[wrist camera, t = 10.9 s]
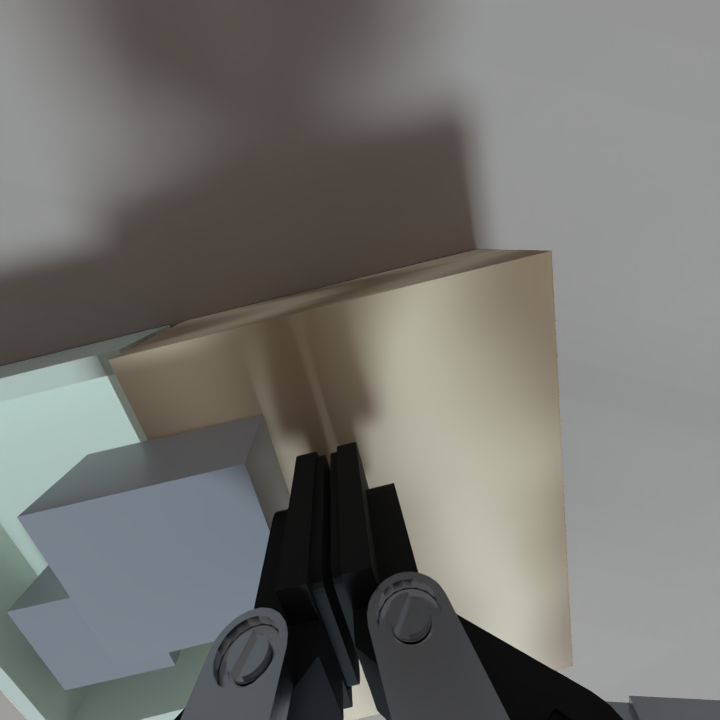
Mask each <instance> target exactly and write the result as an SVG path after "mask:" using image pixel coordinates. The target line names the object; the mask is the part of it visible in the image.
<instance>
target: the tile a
mask: <svg viewBox="0 0 720 720" xmlns="http://www.w3.org/2000/svg"><path fill="white" fill-rule="evenodd" d="M7 613H8V615H9V616H10V617H11V619H12V620H13V621H14V623H15V624H16V625H17V627H18V628H19V630H20V631H21V632H22V634H23V635H24V636H25V638H26V639H27V640H28V642H29V643H30V644H31V646H32V647H33V648H34V650H35V651H36V652H37V654H38V655H39V656H40V658H41V659H42V660H43V662H44V663H45V664H46V666H47V667H48V668H49V670H50V671H51V672H52V674H53V675H54V676H55V678H56V679H57V680H58V682H59V683H60V684H61V686H62V687H63V688H64V690H69V689H74V688H78V687H82V686H87V685H91V684H96V683H100V682H104V681H109V680H113V679H118V678H122V677H127V676H131V675H135V674H140V673H144V672H149V671H153V670H158V669H162V668H166V667H171V666H175V665H176V663H177V660H178V657H179V655H180V652H181V650H177V651H173V652H169V653H165V654H161V655H157V656H153V657H149V658H145V659H141V660H137V661H133V662H129V663H125V664H121V665H117V666H115V664H114V663H113V661H112V660H111V658H110V657H109V655H108V654H107V652H106V651H105V649H104V648H103V646H102V645H101V643H100V642H99V640H98V639H97V637H96V636H95V634H94V632H93V631H92V629H91V628H90V626H89V625H88V623H87V622H86V620H85V619H84V617H83V616H82V614H81V613H80V611H79V610H78V608H77V607H76V605H75V604H74V602H73V601H72V599H71V598H70V596H69V595H68V593H67V592H66V590H65V589H64V587H63V586H62V584H61V583H60V581H59V580H58V578H57V577H56V575H55V574H54V572H53V571H52V569H51V568H50V566H49V565H48V566H47V567H46V568H45V569H44V570H43V571H42V573H41V574H40V575H39V576H38V577H37V578H36V579H35V580H34V582H33V583H32V584H31V585H30V586H29V587H28V588H27V589H26V591H25V592H24V593H23V594H22V595H21V596H20V597H19V598H18V600H17V601H16V602H15V603H14V604H13V605H12V606H11V607H10V609H9V610H8V611H7Z"/></svg>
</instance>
